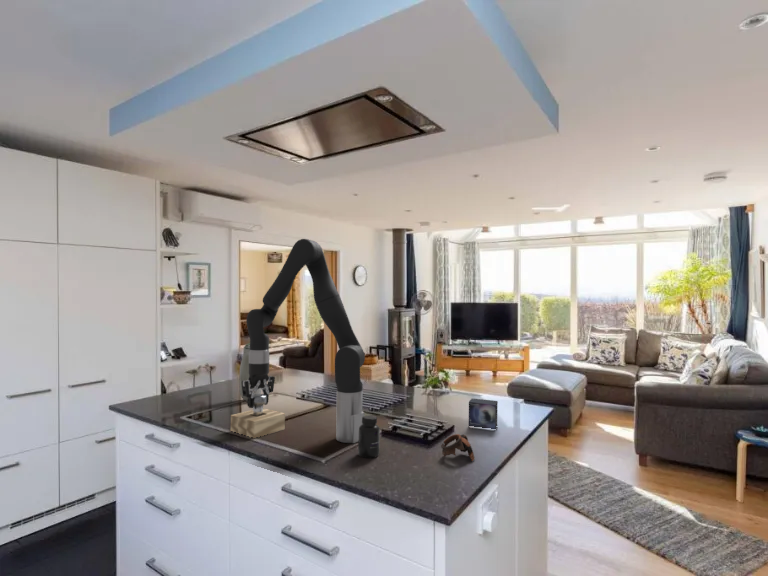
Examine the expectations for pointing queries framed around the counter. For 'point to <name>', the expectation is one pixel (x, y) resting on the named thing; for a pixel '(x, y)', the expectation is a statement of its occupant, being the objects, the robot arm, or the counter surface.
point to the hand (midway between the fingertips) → (258, 405)
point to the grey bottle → (245, 370)
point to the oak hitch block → (257, 423)
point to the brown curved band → (457, 445)
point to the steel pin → (259, 404)
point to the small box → (483, 413)
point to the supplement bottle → (369, 437)
